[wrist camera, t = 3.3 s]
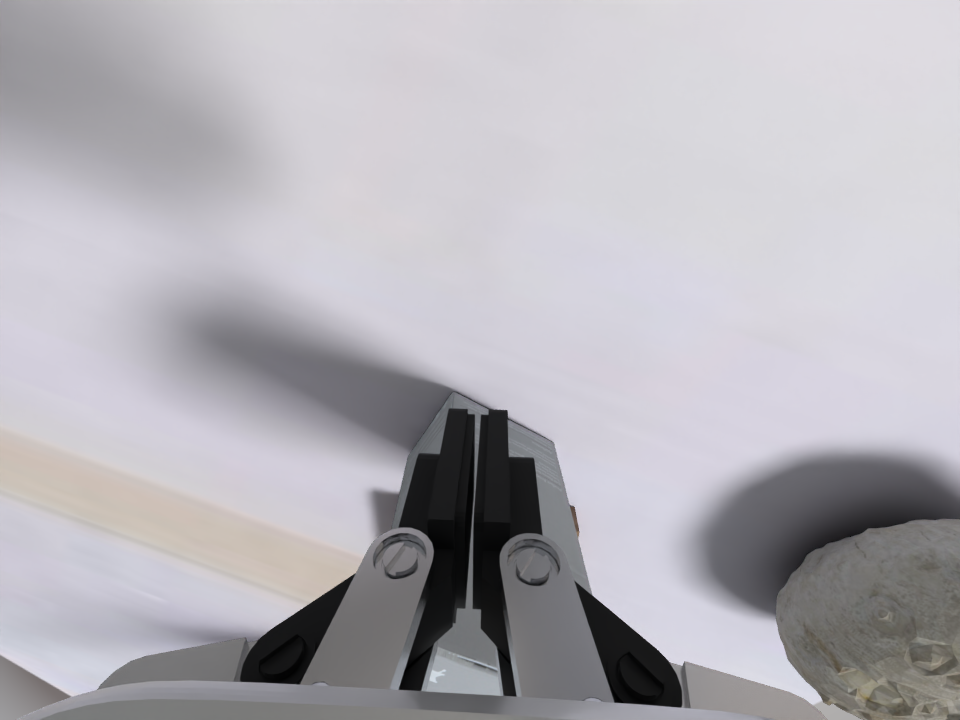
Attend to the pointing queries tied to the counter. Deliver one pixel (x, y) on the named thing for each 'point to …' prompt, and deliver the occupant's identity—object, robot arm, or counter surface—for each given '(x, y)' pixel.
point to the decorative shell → (879, 621)
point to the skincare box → (465, 646)
